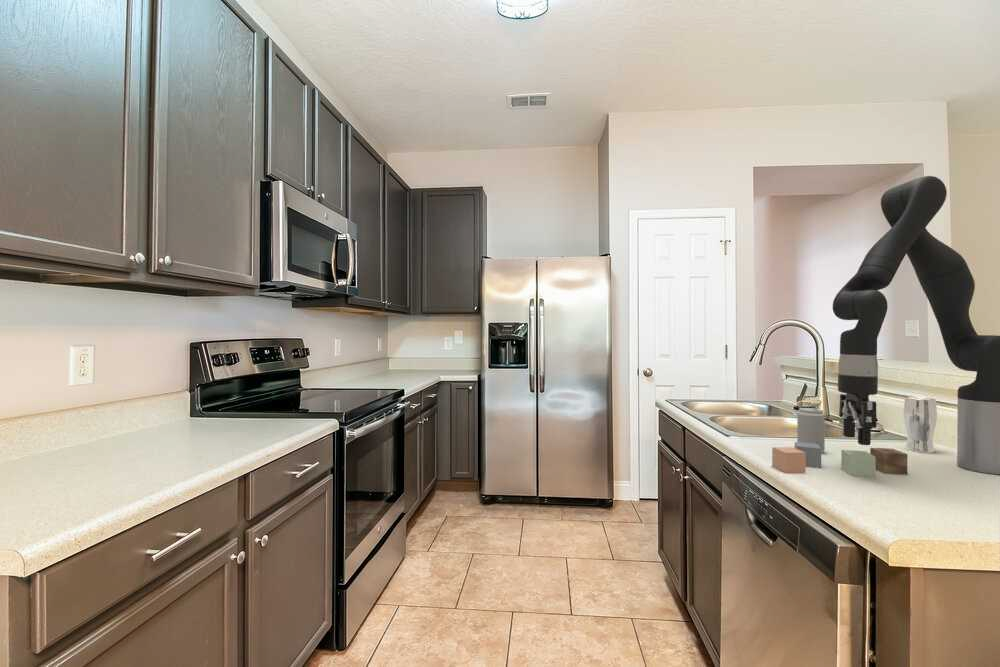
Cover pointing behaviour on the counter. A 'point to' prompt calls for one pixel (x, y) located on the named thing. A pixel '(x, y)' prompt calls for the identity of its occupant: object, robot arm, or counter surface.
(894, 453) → the walnut cube
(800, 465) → the terracotta cube
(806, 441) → the beverage can
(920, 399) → the beer glass
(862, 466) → the sage cube
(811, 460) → the slate cube
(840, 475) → the counter surface
